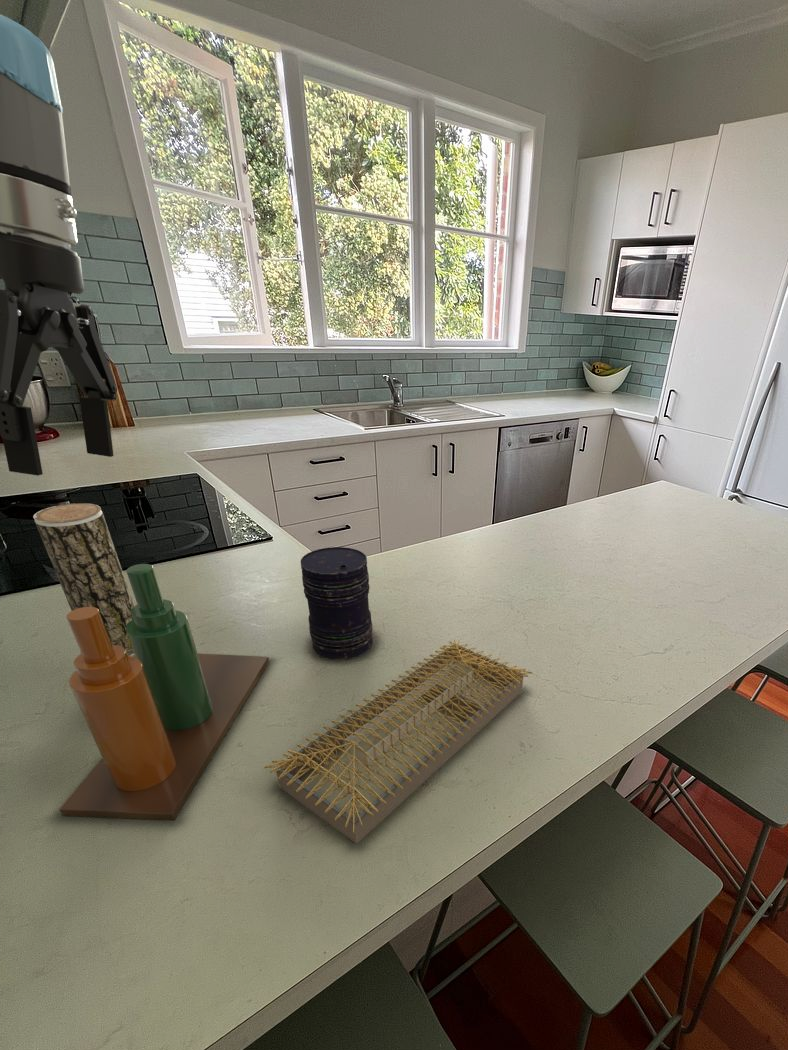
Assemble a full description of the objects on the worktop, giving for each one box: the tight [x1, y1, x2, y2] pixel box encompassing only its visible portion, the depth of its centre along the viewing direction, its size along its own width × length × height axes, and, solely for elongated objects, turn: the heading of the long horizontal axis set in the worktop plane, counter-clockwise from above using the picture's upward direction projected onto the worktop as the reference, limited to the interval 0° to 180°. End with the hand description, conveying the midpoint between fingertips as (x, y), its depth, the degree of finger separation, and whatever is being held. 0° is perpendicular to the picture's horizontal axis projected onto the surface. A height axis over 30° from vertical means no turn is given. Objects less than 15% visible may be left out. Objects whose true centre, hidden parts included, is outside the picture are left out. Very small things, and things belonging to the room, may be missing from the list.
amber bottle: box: [65, 607, 176, 791], centre depth 57 cm, size 6×6×21 cm
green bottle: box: [126, 563, 213, 730], centre depth 66 cm, size 6×6×21 cm
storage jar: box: [300, 546, 374, 661], centre depth 85 cm, size 10×10×15 cm
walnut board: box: [59, 652, 270, 821], centre depth 71 cm, size 12×30×1 cm, turn 179°
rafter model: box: [263, 638, 533, 844], centre depth 70 cm, size 35×14×6 cm, turn 145°
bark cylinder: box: [32, 502, 136, 658], centre depth 72 cm, size 7×7×25 cm
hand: (67, 463), depth 62 cm, fingers open, 13 cm apart
